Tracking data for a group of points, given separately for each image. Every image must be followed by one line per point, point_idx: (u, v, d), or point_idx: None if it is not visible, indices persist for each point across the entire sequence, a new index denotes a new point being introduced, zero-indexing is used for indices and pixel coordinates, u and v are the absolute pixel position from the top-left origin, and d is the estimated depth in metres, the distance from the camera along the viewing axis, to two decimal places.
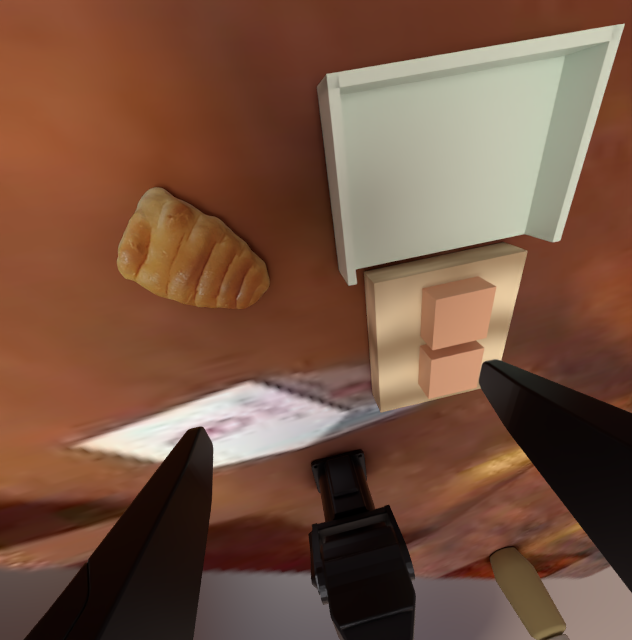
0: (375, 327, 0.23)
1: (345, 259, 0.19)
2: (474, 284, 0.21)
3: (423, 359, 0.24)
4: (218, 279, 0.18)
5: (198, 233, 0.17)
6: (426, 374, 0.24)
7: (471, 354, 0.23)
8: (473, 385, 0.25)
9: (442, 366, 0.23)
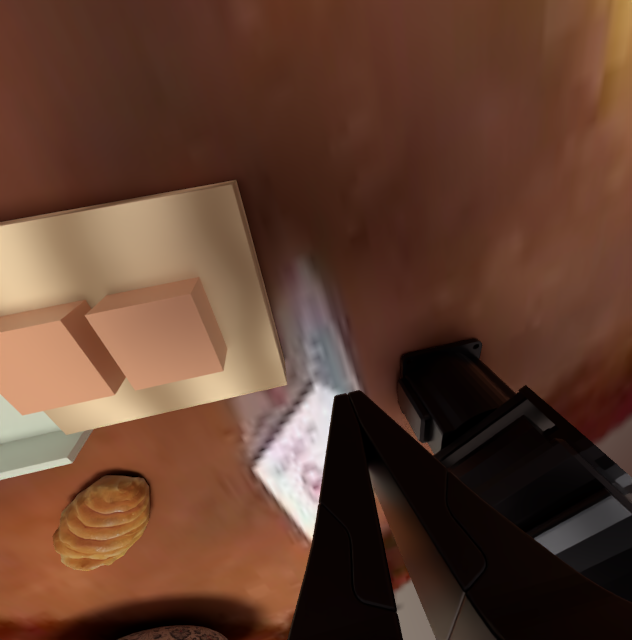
0: (134, 416, 0.18)
1: None
2: None
3: None
4: (98, 530, 0.22)
5: (61, 541, 0.22)
6: None
7: (105, 333, 0.13)
8: (185, 302, 0.12)
9: (146, 372, 0.14)
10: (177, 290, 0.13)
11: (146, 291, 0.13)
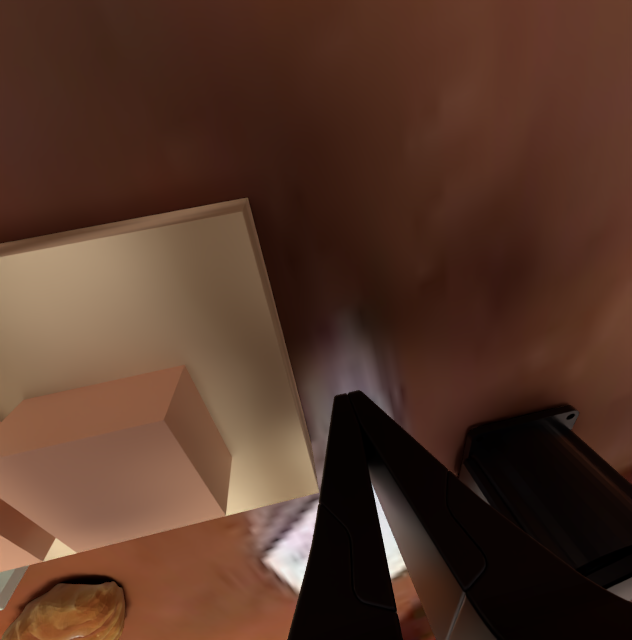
0: None
1: None
2: None
3: None
4: None
5: None
6: None
7: (6, 488, 0.07)
8: (153, 432, 0.07)
9: (92, 529, 0.08)
10: (141, 403, 0.07)
11: (89, 397, 0.08)
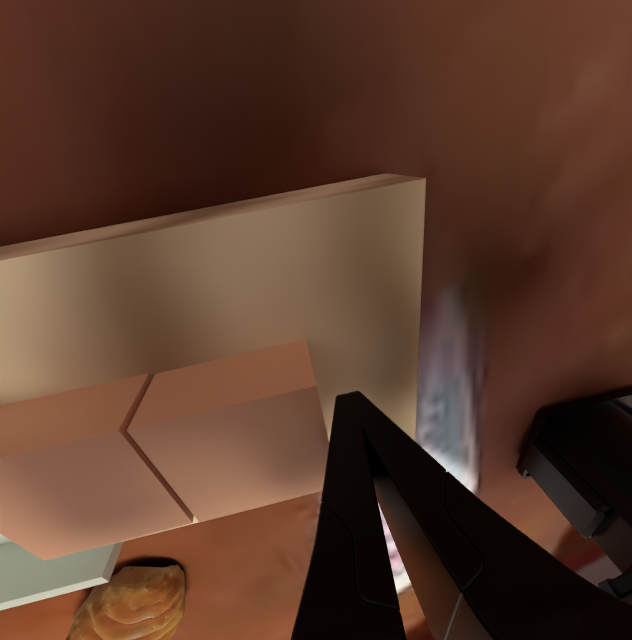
0: None
1: None
2: None
3: None
4: None
5: None
6: None
7: (161, 453, 0.07)
8: (304, 398, 0.07)
9: (220, 498, 0.08)
10: (283, 372, 0.07)
11: (224, 369, 0.08)
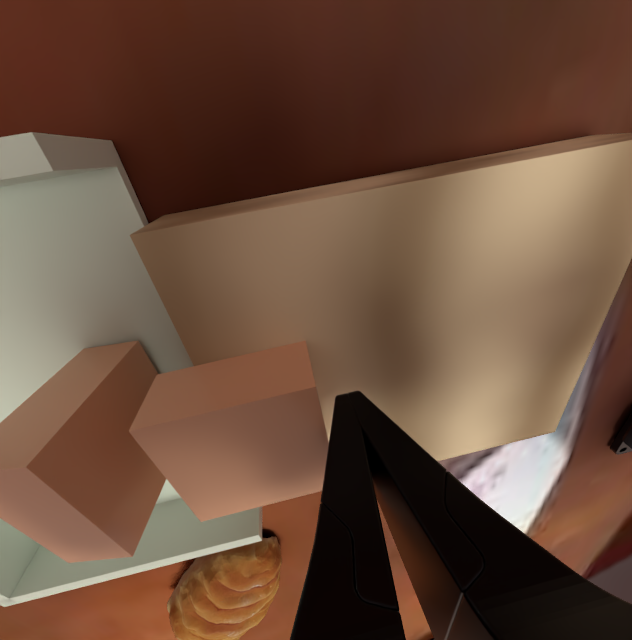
0: None
1: None
2: None
3: None
4: (233, 612, 0.17)
5: (186, 627, 0.17)
6: None
7: (162, 453, 0.07)
8: (303, 399, 0.07)
9: (221, 498, 0.08)
10: (283, 373, 0.07)
11: (225, 371, 0.08)
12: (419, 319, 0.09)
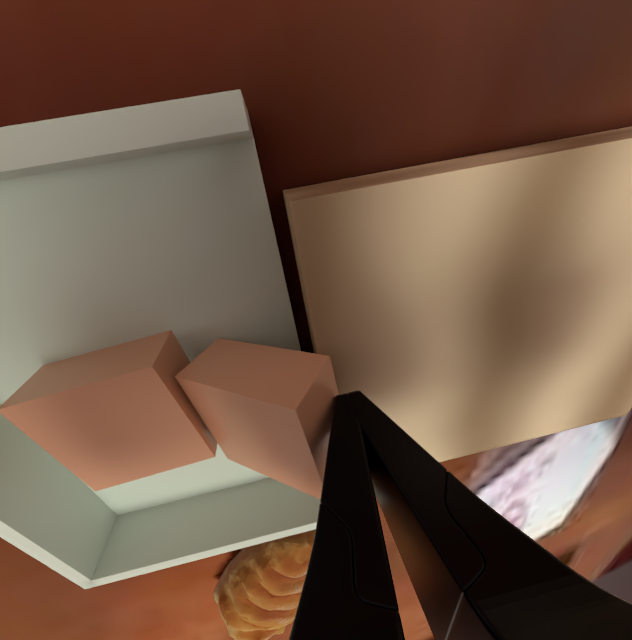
0: None
1: None
2: (178, 368, 0.10)
3: None
4: (286, 598, 0.17)
5: (239, 614, 0.17)
6: None
7: (196, 400, 0.09)
8: (286, 415, 0.07)
9: (237, 452, 0.10)
10: (285, 382, 0.08)
11: (253, 356, 0.09)
12: (532, 294, 0.09)
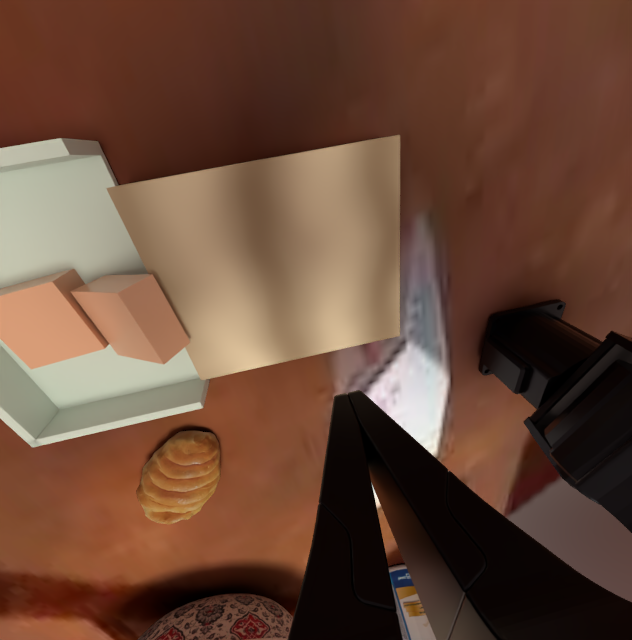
0: (260, 364, 0.20)
1: None
2: None
3: None
4: (179, 481, 0.23)
5: (146, 494, 0.24)
6: None
7: (85, 307, 0.16)
8: (116, 298, 0.14)
9: (117, 344, 0.17)
10: (122, 285, 0.14)
11: (116, 279, 0.15)
12: (276, 243, 0.15)
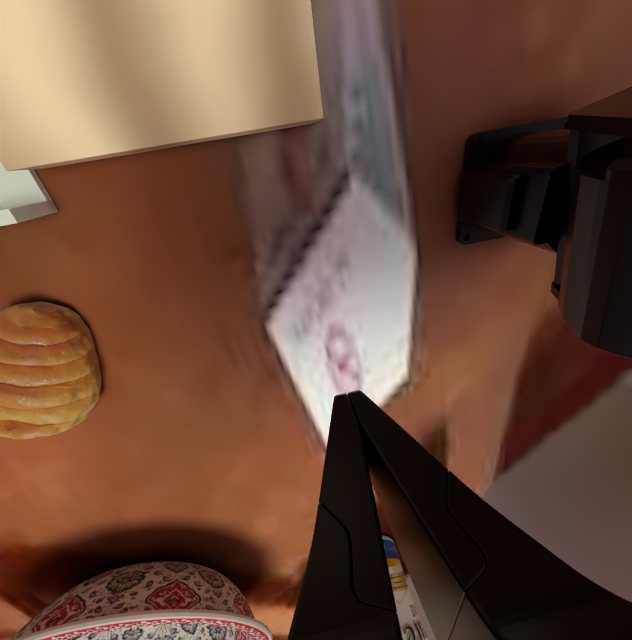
0: (105, 155, 0.13)
1: None
2: None
3: None
4: (14, 369, 0.16)
5: None
6: None
7: None
8: None
9: None
10: None
11: None
12: None
